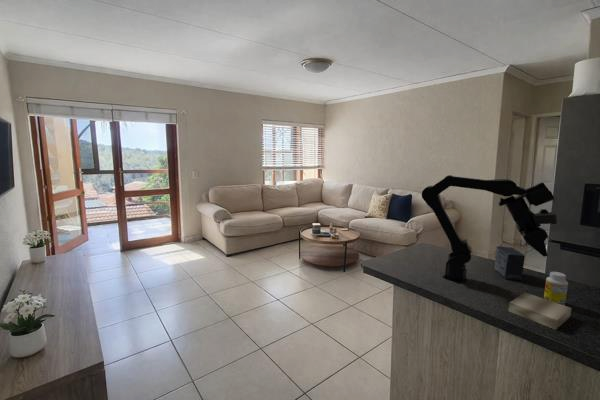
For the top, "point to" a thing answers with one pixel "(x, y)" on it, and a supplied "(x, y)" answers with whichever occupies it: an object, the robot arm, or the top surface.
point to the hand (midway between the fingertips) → (542, 252)
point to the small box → (509, 263)
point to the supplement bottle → (556, 288)
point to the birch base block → (540, 310)
